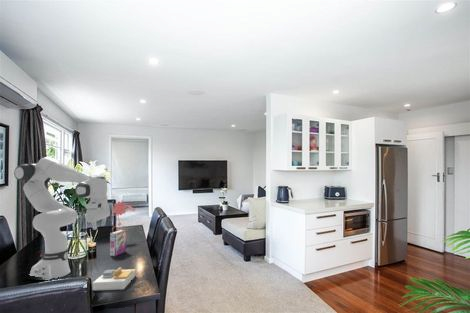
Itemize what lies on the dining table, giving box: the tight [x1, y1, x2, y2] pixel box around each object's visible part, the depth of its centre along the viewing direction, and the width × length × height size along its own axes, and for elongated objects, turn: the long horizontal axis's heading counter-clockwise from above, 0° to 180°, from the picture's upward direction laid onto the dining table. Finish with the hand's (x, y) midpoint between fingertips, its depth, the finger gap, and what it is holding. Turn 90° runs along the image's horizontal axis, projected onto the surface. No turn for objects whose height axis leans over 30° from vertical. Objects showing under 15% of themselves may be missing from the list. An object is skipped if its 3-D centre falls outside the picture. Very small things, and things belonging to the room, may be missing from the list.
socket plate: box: [92, 268, 136, 291], centre depth 142 cm, size 16×16×4 cm
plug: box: [102, 269, 116, 278], centre depth 142 cm, size 5×5×6 cm
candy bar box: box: [109, 229, 127, 257], centre depth 192 cm, size 11×5×16 cm, turn 163°
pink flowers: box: [109, 200, 135, 241], centre depth 225 cm, size 15×26×35 cm, turn 138°
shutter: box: [113, 266, 133, 279], centre depth 142 cm, size 7×9×3 cm
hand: (99, 227), depth 150 cm, fingers open, 8 cm apart
